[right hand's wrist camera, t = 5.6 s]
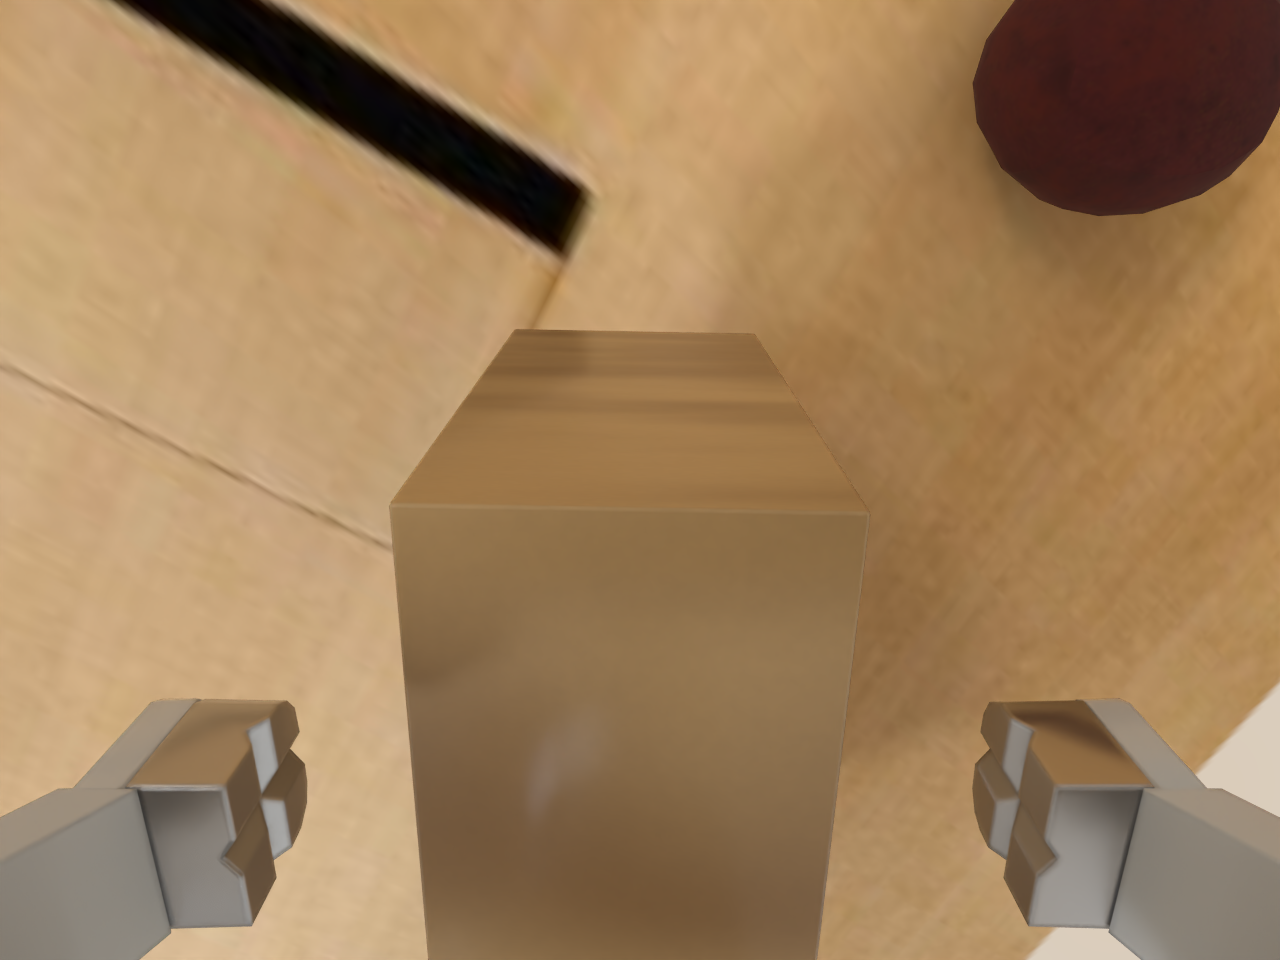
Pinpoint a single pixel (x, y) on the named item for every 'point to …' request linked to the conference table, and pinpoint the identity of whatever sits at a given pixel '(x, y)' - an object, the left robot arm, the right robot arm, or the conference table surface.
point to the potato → (1128, 97)
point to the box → (627, 653)
